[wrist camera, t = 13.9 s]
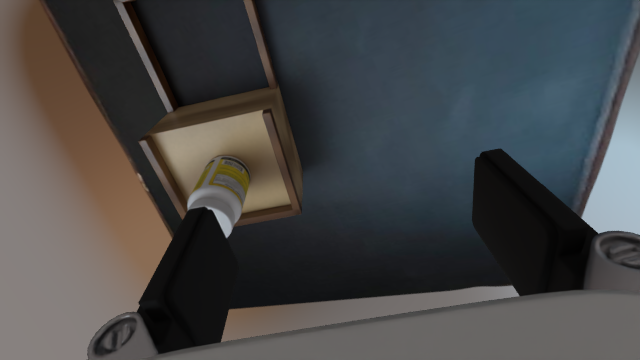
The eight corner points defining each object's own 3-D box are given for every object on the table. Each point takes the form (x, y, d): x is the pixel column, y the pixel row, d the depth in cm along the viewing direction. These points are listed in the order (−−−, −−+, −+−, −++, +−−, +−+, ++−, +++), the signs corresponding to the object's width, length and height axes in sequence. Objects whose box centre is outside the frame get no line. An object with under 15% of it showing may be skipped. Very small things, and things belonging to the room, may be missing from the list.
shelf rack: (118, -6, 32) (56, -1, 24) (243, -39, 31) (221, -45, 23) (211, 190, 44) (190, 235, 37) (303, 172, 43) (301, 214, 35)
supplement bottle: (215, 196, 35) (191, 250, 28) (198, 159, 33) (167, 208, 26) (257, 188, 35) (243, 241, 28) (243, 150, 32) (224, 197, 25)
